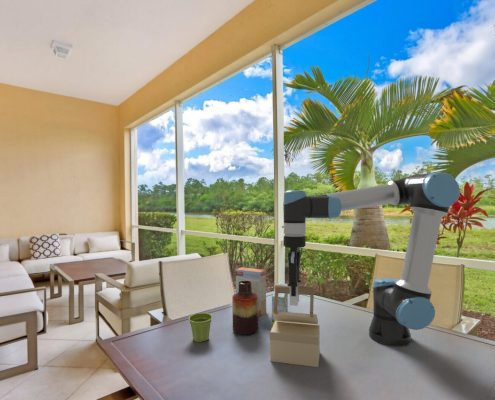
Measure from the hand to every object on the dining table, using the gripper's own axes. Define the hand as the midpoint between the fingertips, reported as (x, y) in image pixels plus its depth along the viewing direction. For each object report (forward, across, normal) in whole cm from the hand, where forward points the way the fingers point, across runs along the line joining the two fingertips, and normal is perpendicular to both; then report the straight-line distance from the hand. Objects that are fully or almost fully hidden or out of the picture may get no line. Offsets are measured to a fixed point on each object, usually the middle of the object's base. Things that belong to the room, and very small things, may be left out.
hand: (294, 303), depth 110 cm
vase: (+19, -19, -23) cm, 35 cm away
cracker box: (+19, -40, -25) cm, 51 cm away
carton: (+19, -2, 0) cm, 19 cm away
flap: (+5, 0, 0) cm, 5 cm away
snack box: (+19, -30, -10) cm, 37 cm away
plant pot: (+20, -7, -38) cm, 43 cm away
